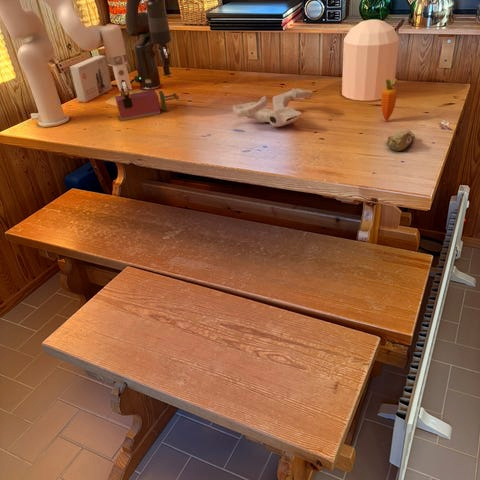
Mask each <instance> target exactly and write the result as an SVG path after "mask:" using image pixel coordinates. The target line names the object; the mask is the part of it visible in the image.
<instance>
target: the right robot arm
mask: <svg viewBox="0 0 480 480" xmlns="http://www.w3.org/2000/svg"><path fill="white" fill-rule="evenodd" d="M141 2H142V0H126V3H125V15H124V16H125V17H124V23H125V29H126V32H127V34H128V35H129V36H131V37H139V36H140V38H139V39H138V40H137V41H136V42H135V43H134V45H133V50H134V54H135V59H136V64H137V67H136V71H137V72H136V73H137V74H136V75H134V78H133V79H130V83H131V85H132V84H133V82H135V83H137V84H139V87H140V89H142V90H143V91H149V90H157V89H159V88H161V87H162V84H161V78H160V73H159V72H160V71H159V67H158V66H159V65H158V62H157V61H158V60H157V55H156V50H157V53H158V57H159V60H160V63H161V66H162V70H163V74H164V76H166V77H167V76H170V75H171V71H170V65H171V54H170V48H169V47H168V46H167V43H168V44H169V43H171V41H172V37H171V31H170V24H169V20H168V16H167V10H166V2H165V0H147V1H146V2H145V7H146V11H139V9H140V4H141ZM155 45H157V47H156V50H155ZM111 85H112V87H116V88H118V86H117V84H111Z"/></svg>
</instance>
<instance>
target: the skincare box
mask: <svg viewBox="0 0 480 480" xmlns="http://www.w3.org/2000/svg"><path fill="white" fill-rule="evenodd" d="M69 70H70V74H71V78H72V82H73V86H74V90H75V94H76V98H77V102H81V103H82V102H84V103H87V102H89V101H91V100H93V99H95V98H97V97H100V96H101V95H103V94H105V93H107V92H108V91H110V90H112V89H113V86H112V85H113V84H112V81H111V76H110V72H109V71H110V70H109V65H108V60H107V56H106V55H100V54H99V55H95V56H92V57H90V58H87V59H85V60H83V61H80V62H78V63H75V64H73V65H71V66H69Z"/></svg>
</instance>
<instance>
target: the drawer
mask: <svg viewBox="0 0 480 480" xmlns="http://www.w3.org/2000/svg"><path fill="white" fill-rule="evenodd" d="M157 98H158V103H159V109H160V110H161V108H162V110H163V111H166V110H167V103H166V101H172V100H176V101H177V100H179V99H180V96H179V95H178V94H177V93H176V92H174V93H173V94H169V95H165V93H164V92H163V91H162V90H159V91H158V94H157Z"/></svg>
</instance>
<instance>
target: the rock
mask: <svg viewBox="0 0 480 480" xmlns="http://www.w3.org/2000/svg"><path fill="white" fill-rule="evenodd" d="M415 139H416V135H415V134H414V132H412V131H411V130H408V129H407V130H404V131H398V132H396V133H394V134H393V135H392V134H391V135H389V136H388V137H387V143H388V145H387V146H388V147H389V149H391V150H392V151H395V152H404V151H406V150H407V148H409V145H410V144H411V143H412V142H413V141H414V140H415Z"/></svg>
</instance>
